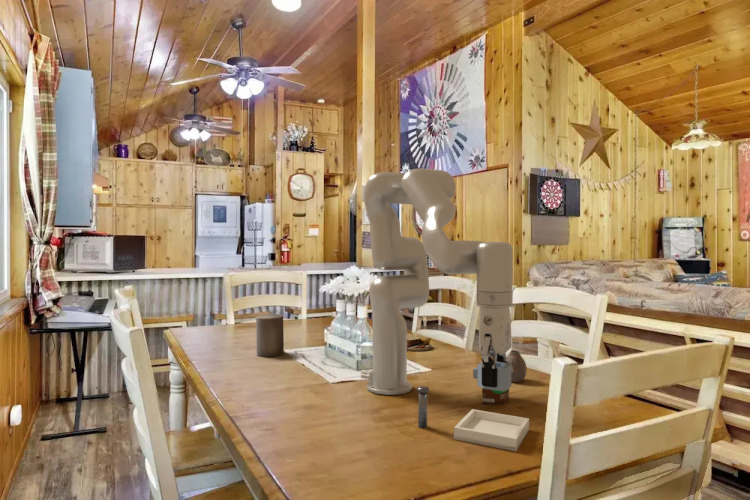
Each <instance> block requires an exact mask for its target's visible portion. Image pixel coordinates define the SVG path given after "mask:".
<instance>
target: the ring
mask: <svg viewBox="0 0 750 500" xmlns="http://www.w3.org/2000/svg"><path fill="white" fill-rule="evenodd" d="M496 368H498V380H497V387H496V388H494V387H486V386H482V361H480V362H479V363H477V367H474V368H472V378H473V379H477V380H476V381H477V382H476V385H477V387H480V388H481V389H482V388H483V389H490V390H506V389H509V390H510V388H511V387H512V382H511V365H510V364H507V363H505V362H496Z"/></svg>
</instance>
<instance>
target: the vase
mask: <svg viewBox="0 0 750 500" xmlns="http://www.w3.org/2000/svg"><path fill="white" fill-rule="evenodd" d="M506 359H507V360H509V361H510V362H511V364H512V366H513V373H511V383H521V382H522V381H523V380H524V379H526V375H527V372H528V371H527V368H528V367H527V363H526V361H525V359H524V357H523V356H522V355H521V353H520V352H519V350H510V352H509V353H508V355H506Z"/></svg>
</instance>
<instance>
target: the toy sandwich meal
mask: <svg viewBox="0 0 750 500" xmlns="http://www.w3.org/2000/svg"><path fill="white" fill-rule="evenodd" d="M431 341H432V338H431V337H429V338H427V339H424V338H422V337H420V336H418V335H414V334H411V333H407V352H408V351H409V352H425V351H429V350H430V349H431V348H432V347H433V345H432V344H430V343H431Z"/></svg>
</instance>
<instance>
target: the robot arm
mask: <svg viewBox="0 0 750 500" xmlns="http://www.w3.org/2000/svg"><path fill="white" fill-rule="evenodd" d="M363 190H364V191H363V201H364V207H365V210H366V214H367V217H368V222H369V235H370V245H371V258H372V263H373V266H374V267H375V268H376V269H378V270H380V271H403V274H394V275H393V274H391V275H390V274H389V275H382V276H379V277H377V278H375V279H373V281H372V282H371V283H370V286H369V290H368V291H369V292H368V294H369V301H370V305H371V306H370V307H371V313H372V314H371V315H372V370H368V369H362V370H361V373H360V378H361V379H367V380H368V382H367V384H366V388H367V390H368V391H369V392H371V393H373V394H378V395H386V396H394V395H395V396H396V395H402V394H407V393H409V392H411V391H412V390H413V384H412V383H411V382H410V381H408V380H407V378H408V377H407V375H408V373H407V371H408V370H407V366H408V364H407V363H408V359H407V358H408V353H407V352H408V351H407V334H408V327H407V322H406V320H405V319H406V318H405V317H404V316H403V314H402V312H401V311H400V310H404V309H414V308H420V307H423V306H424V305H426V303H427V302H428V300H429V297H430V281H429V280H430V279H429V268H428V257H429V259H430V261H431V263H432V264H433V265H434V267H436V268H437V269H438V271H439V272H442V274H445V275H451V276H453V275H474V274H476V307H479V308H480V309H479V320H478V321H479V323H478V348H479V349H478V350H479V352H480V356H481V362H482V386H486V387H494V388H496V387H497V380H498V368H496V362H505V363H506V361H505V360H506V357H507V354H506V353H507V352H508V351H509V350H510V349H511V348H512V344H513V343H512V341H513V340H512V319H511V308H512V307H513V261H514V260H513V246H512V245H511V244H510V243H509V242H507V241H482V240H451V239H450V238H449V236H448V235H447V234H446V233H445V231H444V229H443V228H444V227H445V226H447V225H448V224H449V223H450V222H451V221H452V220H453V218H454V216H455V214H456V205H455V204H454V202H453V201H452V199H453V197H454V196H455V193H456V190H457V189H456V181H455V179H454V178H453V176H452V175H451V174H450V173H449V172H447V171H445V170H441V169H434V168H431V169H430V168H421V167H420V168H413V169H411V170H409V171H407V172H406V173H404V172H403V173H402V172H394V171H381V172H377V173H374V174H372V175H371V176H370V177H369V178H368V179H367V181H366V183H365V186H364V189H363ZM391 204H396V205H397V204H399V205H411V206H412V208H413V209H414V210H415V211H416V213H417V215H418V216H419V217H420V219H421V220H422V222H423V225H422V229H421V240H420V239H418V238H417V237H413V236H403V235H402V233H401V223H400V222H401V221H400V219H399V217H398V215H397V213H396V211H395V209H394V208H393V207H392V206H391ZM427 256H428V257H427Z"/></svg>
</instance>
